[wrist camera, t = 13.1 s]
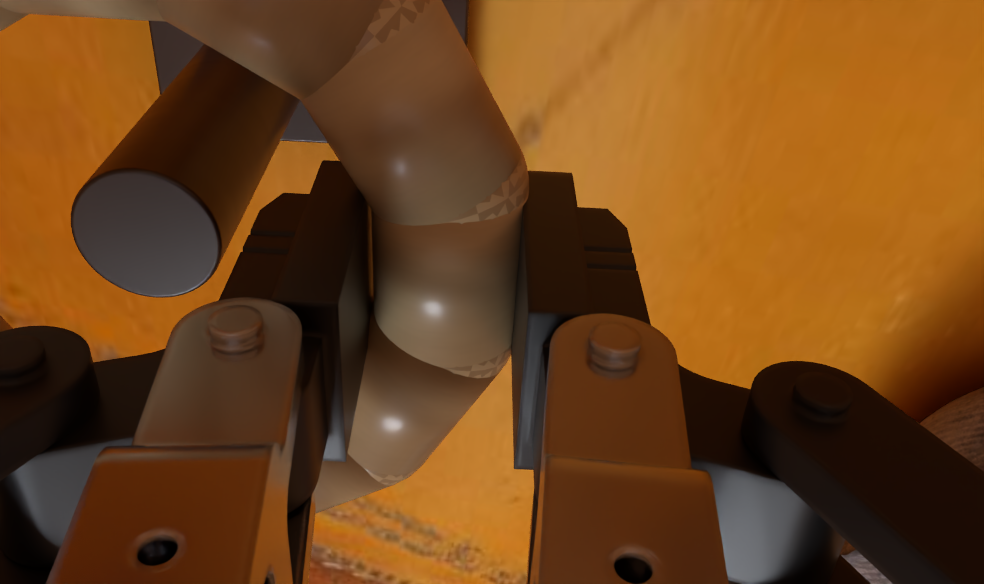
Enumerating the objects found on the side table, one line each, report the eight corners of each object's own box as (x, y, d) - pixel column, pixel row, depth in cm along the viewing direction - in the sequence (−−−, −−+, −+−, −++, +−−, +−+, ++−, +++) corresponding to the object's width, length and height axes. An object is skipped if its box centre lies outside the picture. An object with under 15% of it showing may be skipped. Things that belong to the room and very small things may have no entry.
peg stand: (177, 121, 25) (-70, 445, 14) (127, -206, 21) (-286, -101, 10) (464, 135, 25) (438, 466, 14) (476, -186, 21) (453, -60, 10)
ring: (-79, 449, 15) (-151, 540, 14) (-344, -218, 10) (-518, -205, 8) (502, 479, 16) (501, 572, 14) (552, -166, 10) (561, -141, 8)
